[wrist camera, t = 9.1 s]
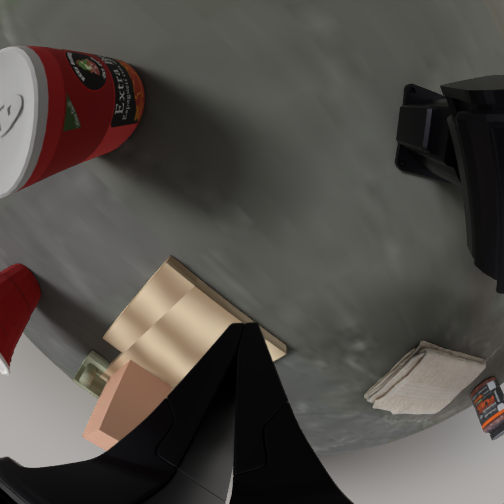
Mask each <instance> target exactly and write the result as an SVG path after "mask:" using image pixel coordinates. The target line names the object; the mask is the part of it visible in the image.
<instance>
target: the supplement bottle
mask: <svg viewBox="0 0 504 504" xmlns="http://www.w3.org/2000/svg"><path fill="white" fill-rule="evenodd" d="M471 399H472V402H473V405H474V407H475V409H476V412H477V415H478V418H479V420H480V423H481V426H482V429H483V431H484V432H485V433H490V434H491V435H490V436H491V439H492V440H495V439H497V438H499V437H500V436H502V435H503V434H504V394H503V392H502V390H501V388H500V386H499V383H498V381H497V380H496V378H495V377H491V378H488V379H486V380H484V381H483V382H481V383H480V384H479V385H478V386H477V387H476V388H475V389H474V390H473V391H472V393H471Z"/></svg>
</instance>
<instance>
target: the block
mask: <svg viewBox="0 0 504 504" xmlns="http://www.w3.org/2000/svg"><path fill="white" fill-rule="evenodd" d="M171 387H172V386H171V385H169V384H167V383H166V382H164V381H162V380H161V379H159V378H158V377H156V376H154V375H153V374H151V373H150V372H148V371H147V370H145V369H144V368H142V367H141V366H139V365H138V364H136V363H135V362H133V361H132V360H129V361H128V362H127V363H126V364H125V365H124V366H122V367H121V368H120V369H119V370H118V371H117V372H116V373H115V374H113V375H112V376H111V377H110V378H109V379H108V381H107V383H106V385H105V387H104V389H103V391H102V393H101V395H100V398H99V400H98V402H97V404H96V406H95V408H94V410H93V413H92V415H91V417H90V419H89V422H88V424H87V426H86V428H85V431H84V433H83V435H82V437H83V438H85V439H87V440H88V441H90V442H92V443H93V444H95V445H97V446H99V447H101V448H102V449H104V450H106V451H107V450H109V449H110V448H111V447H112V446H114V445H115V444H116V443H117V442H119V441H120V440H121V439H122V438H123V437H125V436H126V435H127V434H128V433H130V432H131V431H132V430H133V429H134V428H135V427H137V426H138V425H139V424H140V423H141V422H142V421H143V420H144V419H145V418H147V417H148V416H149V415H150V414H151V413H152V412H153V411H154V409H155V408H156V407H157V406H158V405H159V404H160V403H161V402H162V401H163V400H164V399H165V398H167V396H168V395H169V393H170V390H171Z"/></svg>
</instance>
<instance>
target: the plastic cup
mask: <svg viewBox="0 0 504 504" xmlns="http://www.w3.org/2000/svg"><path fill="white" fill-rule="evenodd" d="M40 297H41V291H40V287H39V284H38V282H37V280H36V278H35V277H34V275H33V274H32V272H31V271H30V270H29V269H28V268H27V267H25V266H24V265H22V264H15V265H11V266H10V267H8V268H6V269H4V270H3V271H1V272H0V373H2V374H3V375H10V368H9V367H10V362H11V357H12V355H13V353H14V349H15V347H16V344H17V342H18V340H19V338H20V337H21V335H22V333H23V331H24V329H25V327H26V325H27V323H28V321H29V319H30V316H31V314H32V313H33V311H34V309H35V308H36V306H37V304H38V302H39V300H40Z"/></svg>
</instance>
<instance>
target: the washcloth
mask: <svg viewBox="0 0 504 504" xmlns="http://www.w3.org/2000/svg"><path fill="white" fill-rule="evenodd" d="M485 368H486V362H485V359H482V358H479V357H476V356H471V355H468V354H466V353H464V354H463V353H462V352H457V351H452V350H449V349H444V348H442V347H439V346H437V345H434V344H431V343H428V342H427V341H420V344H419V345H418V347H417V348H414V349H412V350H411V351H410V352H408V353H407V354H406V355H405V356H404V357H403V358H402V359H401V360H400V361H399V362H398V363H397V364H396V365H395V366H394V367H393V368H392V369H391V370H390V371H389V372H388V373H387V374H386V375H385V376H384V377H383V378H382V379H380V380H379V381H378V382H377V383H376V384H375V385H374V386H373V387H371V388H370V389H369V390H368V391H367V392H366V394H365V395H364V398H367V401H369V402H371V403H373V408H377V409H383V410H387V411H390V412H392V413H393V414H400V413H408V414H435V413H437V412H439V411H440V410H442V409H443V408H444V407H445V406H446V405H447V404H449V403H450V402H451V401H452V400H453V399H454V398H455V397H456V395H458V394H459V393H460V392H461V391H462V389H464V388H466V387H467V386H468V385H469V384H470V383H471V382H473V380H474V379H476V377H477V376H479V374H480V373H481V372H482V371H483V370H484V369H485Z"/></svg>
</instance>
